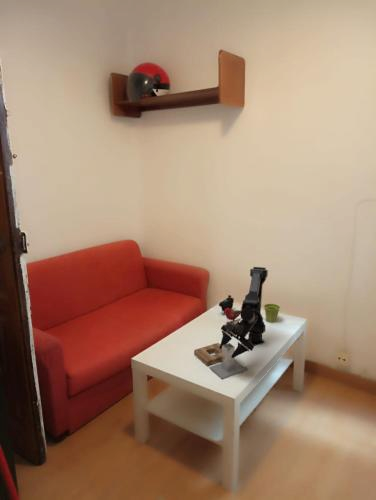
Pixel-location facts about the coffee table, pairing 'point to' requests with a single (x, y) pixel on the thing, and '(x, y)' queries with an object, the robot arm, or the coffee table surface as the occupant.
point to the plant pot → (271, 312)
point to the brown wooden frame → (205, 354)
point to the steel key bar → (228, 357)
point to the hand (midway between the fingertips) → (225, 352)
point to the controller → (227, 303)
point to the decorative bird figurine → (232, 314)
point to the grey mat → (224, 374)
